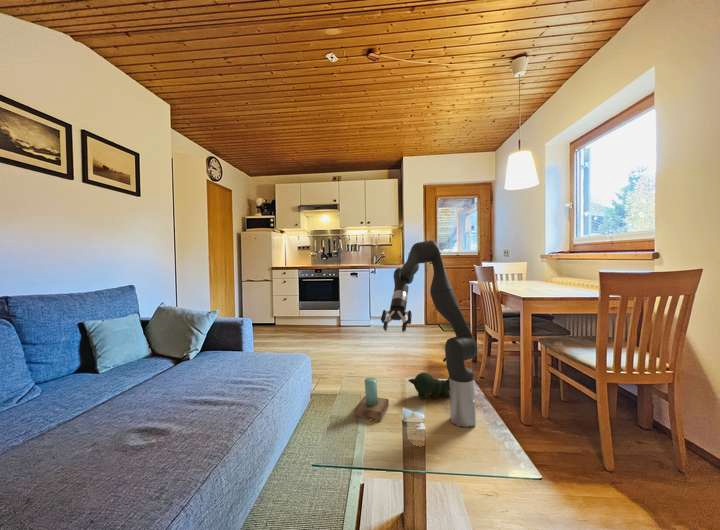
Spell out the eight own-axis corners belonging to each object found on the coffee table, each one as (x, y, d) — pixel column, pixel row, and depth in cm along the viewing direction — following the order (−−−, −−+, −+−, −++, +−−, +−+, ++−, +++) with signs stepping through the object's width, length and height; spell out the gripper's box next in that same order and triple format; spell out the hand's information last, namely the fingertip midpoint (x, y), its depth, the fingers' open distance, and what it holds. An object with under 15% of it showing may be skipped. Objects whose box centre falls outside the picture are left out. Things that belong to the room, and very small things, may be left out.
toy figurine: (453, 391, 149) (404, 393, 144) (455, 352, 148) (405, 353, 144) (463, 400, 139) (411, 403, 135) (465, 359, 139) (412, 360, 134)
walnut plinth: (388, 408, 133) (388, 399, 133) (381, 421, 123) (380, 411, 123) (365, 404, 137) (364, 395, 137) (355, 417, 127) (355, 408, 127)
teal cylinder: (379, 401, 132) (377, 378, 131) (375, 406, 127) (374, 383, 126) (368, 399, 133) (366, 377, 133) (364, 405, 129) (362, 381, 128)
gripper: (383, 297, 153) (377, 325, 143) (412, 297, 148) (407, 327, 138) (387, 305, 158) (381, 333, 148) (414, 306, 153) (410, 335, 143)
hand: (394, 330), depth 143 cm, fingers open, 8 cm apart
